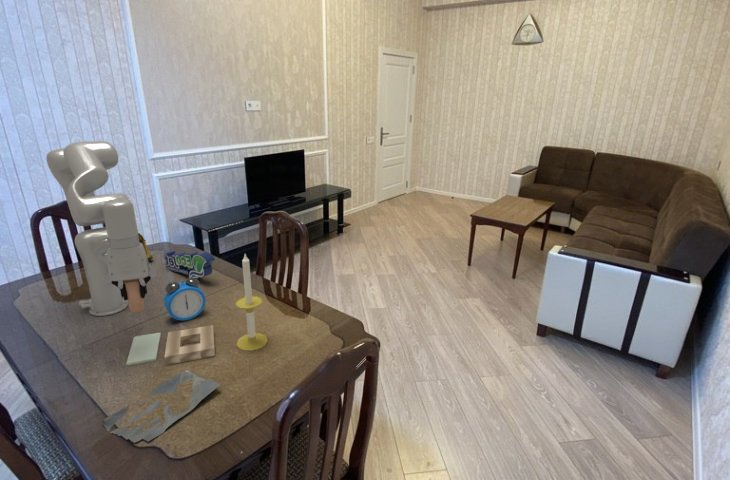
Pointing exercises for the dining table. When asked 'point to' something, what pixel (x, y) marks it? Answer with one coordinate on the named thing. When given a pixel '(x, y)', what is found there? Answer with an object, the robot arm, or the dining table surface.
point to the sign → (189, 263)
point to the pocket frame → (191, 352)
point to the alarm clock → (184, 299)
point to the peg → (134, 295)
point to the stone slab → (169, 386)
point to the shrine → (144, 246)
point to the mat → (144, 349)
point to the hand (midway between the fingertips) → (135, 296)
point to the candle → (249, 313)
